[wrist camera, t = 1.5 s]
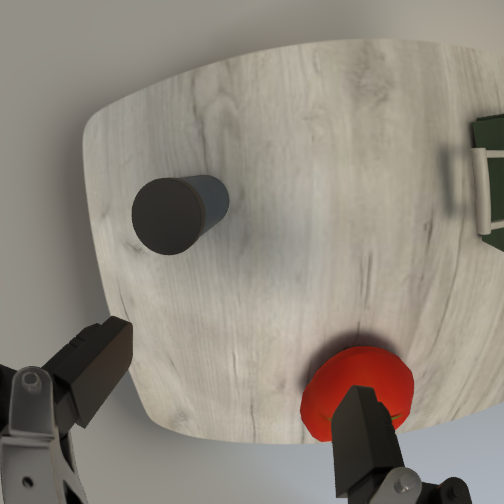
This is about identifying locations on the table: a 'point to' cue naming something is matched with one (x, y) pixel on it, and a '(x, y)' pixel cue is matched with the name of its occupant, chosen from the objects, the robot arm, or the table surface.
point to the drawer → (489, 180)
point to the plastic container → (178, 211)
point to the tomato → (356, 373)
